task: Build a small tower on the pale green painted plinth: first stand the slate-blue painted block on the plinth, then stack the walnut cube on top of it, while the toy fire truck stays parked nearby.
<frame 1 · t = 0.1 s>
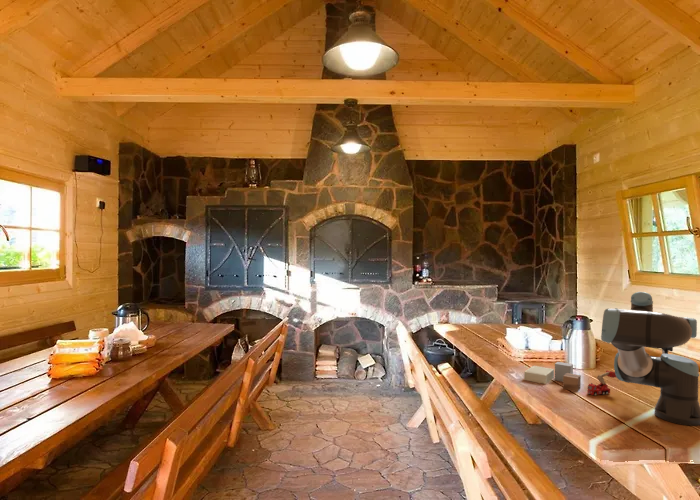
hand: (645, 357, 202), 15 cm above the table, tool tilted 35°, fingers open, 13 cm apart
plinth: (539, 378, 220), on the table
block b: (571, 388, 205), on the table
block a: (563, 380, 218), on the table
toy fire truck: (601, 394, 199), on the table
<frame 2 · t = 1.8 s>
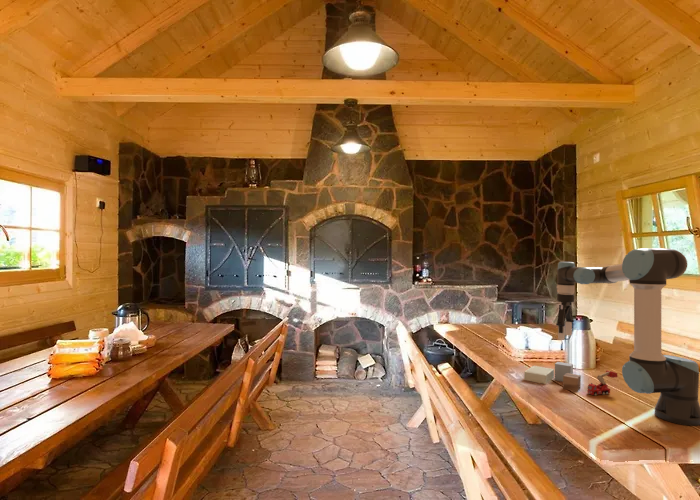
hand: (564, 337, 217), 21 cm above the table, tool pointing down, fingers open, 13 cm apart
nothing on the table moved.
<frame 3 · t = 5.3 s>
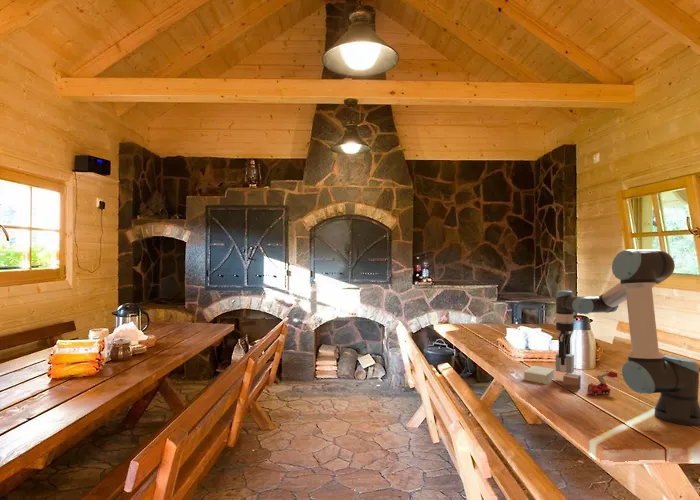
hand: (564, 370, 217), 5 cm above the table, tool pointing down, fingers closed on block a, 5 cm apart
block a: (564, 371, 217), point 5 cm above the table, touching gripper
everything else where it was.
when the fingers open (5 cm above the table, at t = 9.9 s): block a stays where it is, resting on plinth.
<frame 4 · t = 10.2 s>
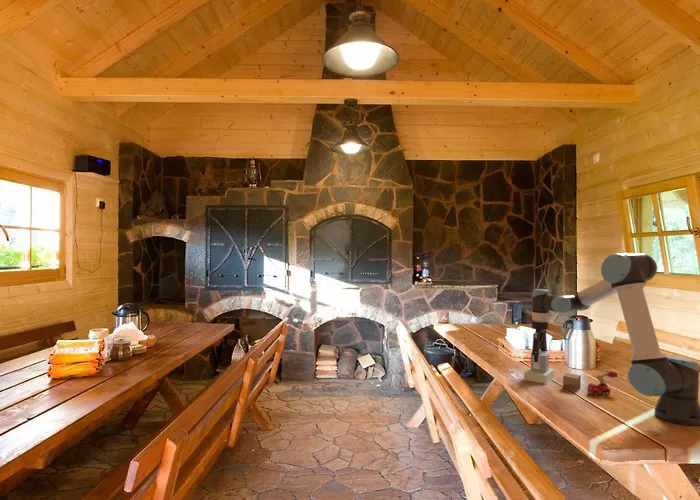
hand: (539, 366, 220), 6 cm above the table, tool pointing down, fingers open, 9 cm apart
block a: (539, 370, 220), point 4 cm above the table, touching plinth
everything else where it was.
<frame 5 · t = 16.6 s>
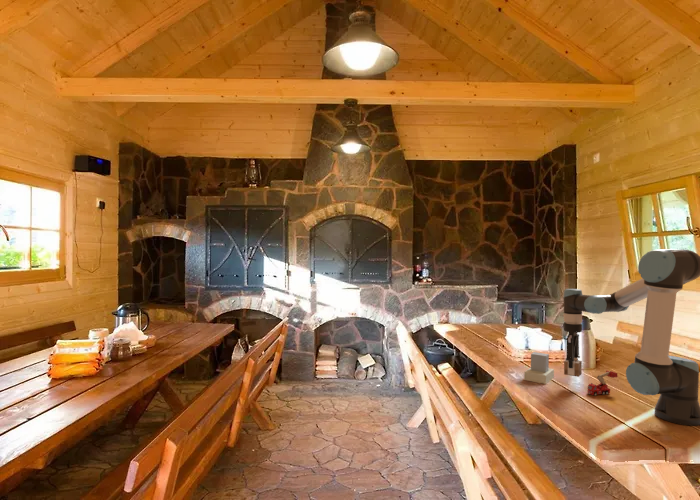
hand: (572, 373, 205), 7 cm above the table, tool pointing down, fingers closed on block b, 6 cm apart
block b: (572, 374, 205), point 7 cm above the table, touching gripper
everything else where it was.
when the fingers open (12 cm above the table, at t = 22.9 s): block b stays where it is, resting on block a.
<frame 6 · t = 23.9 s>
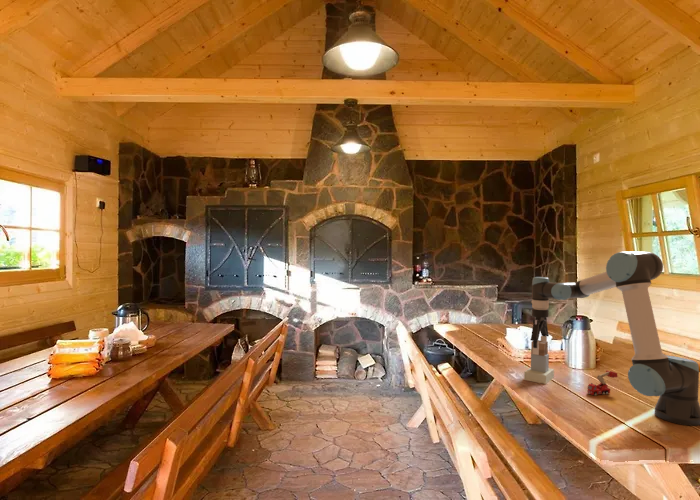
hand: (539, 351, 220), 13 cm above the table, tool pointing down, fingers open, 13 cm apart
block b: (539, 353, 220), point 12 cm above the table, touching block a
block a: (539, 370, 220), point 4 cm above the table, touching block b, plinth
everything else where it was.
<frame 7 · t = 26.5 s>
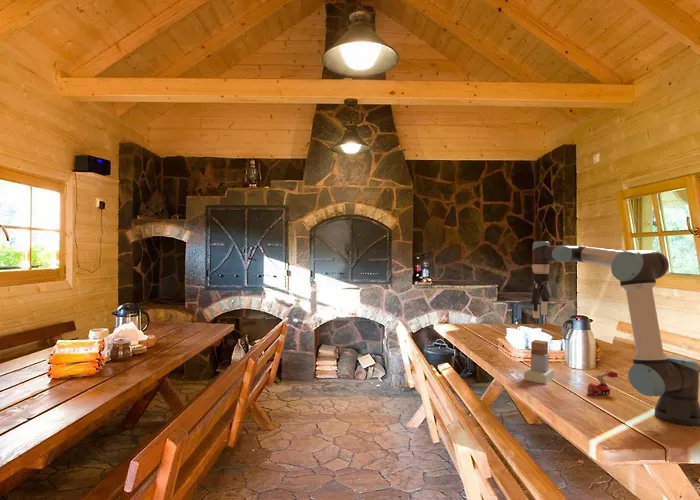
hand: (540, 316, 220), 31 cm above the table, tool pointing down, fingers open, 13 cm apart
nothing on the table moved.
at the end: block a touching block b, plinth; block b touching block a; block b point 12.1 cm above the table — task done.
